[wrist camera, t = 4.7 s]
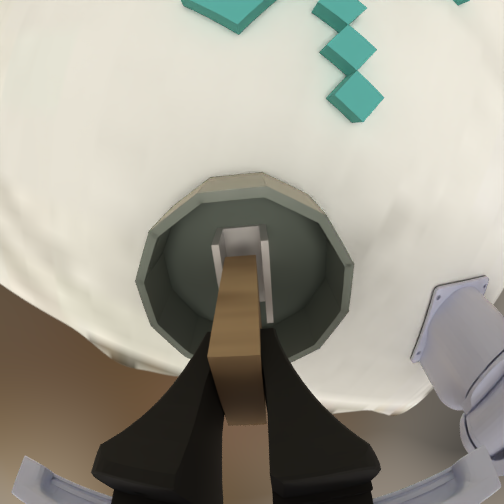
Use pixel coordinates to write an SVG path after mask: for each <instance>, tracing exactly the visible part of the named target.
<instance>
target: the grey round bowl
mask: <svg viewBox="0 0 504 504" xmlns="http://www.w3.org/2000/svg"><path fill="white" fill-rule="evenodd" d="M246 255H256V263H257V275H258V287H259V299H260V311H261V324H262V329H264V328H274V329H275V330H276V333H277V336H278V339H279V341H280V344H281V346H282V348H283V350H284V352H285V354H286V356H287V358H288V359H289V361H290V363H291V362H293V361H295V360H297V359H299V358H301V357H303V356H305V355H307V354H309V353H311V352H313V351H315V350H317V349H320V347H321V346H322V345H323V344H324V342H325V341H326V340H327V339H328V338H329V336H330V335H331V334H332V332H333V331H334V330H335V329H336V327H337V326H338V325H339V324H340V322H341V321H342V320H343V318H344V317H345V316H346V314H347V313H348V312H349V304H350V296H351V288H352V278H353V268H354V263H353V261H352V259H351V258H350V256H349V254H348V252H347V250H346V248H345V247H344V245H343V243H342V241H341V239H340V238H339V236H338V234H337V232H336V231H335V229H334V227H333V226H332V224H331V222H330V220H329V219H328V217H327V215H326V214H325V213H324V212H323V210H322V209H321V208H320V207H319V206H318V205H317V204H316V203H315V201H314V200H313V199H312V198H311V197H310V196H309V195H308V194H306V193H304V192H302V191H300V190H298V189H296V188H294V187H292V186H290V185H288V184H286V183H284V182H282V181H280V180H278V179H276V178H274V177H271V176H269V175H267V174H265V173H263V172H259V173H248V174H237V175H227V176H218V177H210V178H209V179H208V180H206V181H205V182H204V183H202V184H201V185H200V186H199V187H197V188H196V189H195V190H193V191H192V192H191V193H189V194H188V195H187V196H186V197H184V198H183V199H182V200H180V201H179V202H178V203H177V204H175V205H174V206H173V207H172V208H171V209H170V210H169V211H168V212H167V213H166V214H165V215H164V216H163V217H162V218H161V219H160V220H159V221H158V222H157V223H156V224H155V225H154V226H153V227H152V228H151V229H150V231H149V233H148V236H147V240H146V243H145V247H144V250H143V254H142V257H141V261H140V265H139V268H138V272H137V276H136V280H135V282H136V285H137V288H138V291H139V294H140V297H141V300H142V303H143V306H144V309H145V311H146V314H147V317H148V320H149V322H150V325H151V326H152V327H153V328H154V329H155V330H156V331H157V332H158V333H159V334H160V335H161V336H162V337H163V338H165V339H166V340H167V341H168V342H169V343H170V344H171V345H172V346H173V347H175V348H176V349H177V350H178V351H179V352H180V353H181V354H183V355H184V356H185V357H187V358H190V359H191V358H192V357H193V355H194V353H195V352H196V350H197V348H198V347H199V345H200V343H201V341H202V340H203V338H204V336H205V334H206V333H207V332H211V331H212V326H213V320H214V314H215V308H216V303H217V297H218V292H219V286H220V281H221V276H222V270H223V265H224V260H225V257H232V256H246Z"/></svg>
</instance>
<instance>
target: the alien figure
mask: <svg viewBox="0 0 504 504" xmlns="http://www.w3.org/2000/svg"><path fill="white" fill-rule="evenodd" d="M275 1H276V0H181V2H182V3H183V5H184V6H185V7H187V8H189V9H191V10H194V11H196V12H198V13H200V14H202V15H204V16H206V17H208V18H210V19H212V20H214V21H215V22H217V23H219V24H221V25H223V26H225V27H226V28H228V29H230V30H232V31H233V32H235V33H237V34H238V35H239V34H240V33H241V32H242V31H243V30H244V29H245V28H246V27H247V26H248V25H249V24H250V23H251V22H252V21H253V20H255V19H256V18H257V17H258V16H259V15H260V14H261V13H262V12H263V11H265V10H266V9H267V8H268V7H269V6H270V5H271V4H273V3H274V2H275ZM453 1H454V2H455V3H456V4H457V5H460V4H462V3H465V2H468V1H470V0H453ZM366 9H367V7H366V6H364V5H363V4H362V3H361V2H359V1H358V0H319V1H318V2H317V4H316V6H315V8H314V9H313V11H312V13H313V14H314V15H316V16H317V17H319V18H320V19H321V20H323V21H324V22H325V23H327V24H328V25H329V26H331V27H332V28H333V29H335V30H336V31H337V32H338V33H339V34H337V35H336V36H335V37H334V38H333V39H332V40H331V41H330V42H329V43H328V44H327V45H326V46H325V47H324V48H323V49H322V50H321V51H320V52H319V53H320V54H322V55H323V56H324V57H325V58H327V59H328V60H329V61H330V62H331V63H333V64H334V65H335V66H336V67H337V68H338V69H340V70H341V71H342V72H343V73H344V74H345V75H346V77H345V78H344V79H343V80H342V81H341V82H340V84H339V85H338V86H337V87H336V88H335V89H334V90H333V91H332V92H331V93H330V94H329V95H328V97H327V98H326V99H327V100H328V101H329V102H330V103H332V104H333V105H334V106H335V107H336V108H337V109H338V110H339V111H340V112H341V113H343V114H344V115H345V116H346V117H347V118H348V119H349V120H350V121H351V122H352V123H356V122H364V121H365V119H366V118H367V117H368V116H369V115H370V114H371V112H372V111H373V110H374V109H375V108H376V107H377V106H378V104H379V103H380V102H381V101H382V100H383V99H384V97H383V96H382V95H381V94H380V93H379V91H378V90H377V89H376V88H375V87H374V86H373V85H372V84H371V83H370V82H369V81H368V80H367V79H366V78H364V77H363V76H362V75H361V74H360V73H359V72H358V71H357V70H358V69H359V68H360V67H361V66H362V65H363V64H364V63H365V62H366V61H367V60H368V59H369V57H370V56H371V55H372V54H373V53H374V52H375V51H376V50H377V49H376V48H375V47H374V46H373V45H372V44H370V43H369V42H368V41H367V40H366V39H365V38H364V37H363V36H362V35H360V34H359V33H358V32H357V31H356V30H354V29H353V28H352V27H351V26H350V25H349V24H350V23H351V22H352V21H354V20H355V19H356V18H357V17H358V16H359V15H360V14H361V13H362V12H363V11H365V10H366Z"/></svg>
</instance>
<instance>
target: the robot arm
mask: <svg viewBox="0 0 504 504" xmlns="http://www.w3.org/2000/svg"><path fill="white" fill-rule="evenodd" d="M488 281H489V278H488V277H487V276H484V277H479V278H475V279H471V280H466V281H462V282H457V283H452V284H447V285H442V286H438V287H437V288H436V289H435V290H434V293H433V297H432V300H431V304H430V307H429V310H428V313H427V316H426V320H425V323H424V325H423V328H422V331H421V334H420V337H419V339H418V342H417V345H416V347H415V350H414V352H413V355H412V357H411V361H412V362H413V363H415V362H418V361H419V362H420V364H421V366H422V367H423V369H424V371H425V373H426V374H427V376H428V378H429V380H430V382H431V384H432V385H433V387H434V389H435V391H436V393H437V395H438V397H439V398H440V400H441V401H442V402H443V403H444V404H445V405H446V406H448V407H449V408H452V409H454V410H463V411H464V413H463V415H462V417H461V420H460V436H461V440H462V443H463V445H464V447H465V449H466V451H467V452H468V453H469V454H467V455H466V456H464V457H462V458H461V459H459V460H458V461H457V462H456V463H454V464H453V465H452V467H449V468H448V469H446V470H444V471H442V472H440V473H438V474H436V475H434V476H432V477H429V478H427V479H425V480H423V481H420V482H418V483H416V484H413V485H411V486H408V487H406V488H403V489H401V490H398V491H395V492H392V493H390V494H387V495H384V496H381V497H377V498H374V499H372V494H371V490H372V489H373V487H372V483H371V480H372V479H373V478H374V477H375V476H376V475H377V474H378V473H379V471H380V470H381V468H380V463H379V461H378V458H377V456H376V454H375V452H374V451H373V449H372V447H371V446H370V444H369V443H367V442H366V441H364V440H363V439H361V438H360V437H358V436H357V435H356V434H354V433H353V432H352V431H350V430H349V429H348V428H347V427H346V426H344V425H343V424H342V423H341V422H340V421H338V420H337V419H336V418H335V417H334V416H333V415H332V414H331V413H330V412H329V411H328V410H327V409H326V408H325V407H324V406H323V405H322V404H321V403H320V402H319V401H318V400H317V399H316V397H315V396H314V395H313V394H312V393H311V391H310V390H309V389H308V388H307V386H306V385H305V384H304V382H303V381H302V380H301V378H300V377H299V375H298V374H297V372H296V371H295V369H294V368H293V366H292V364H291V363H290V361H289V359H288V358H287V356H286V354H285V352H284V350H283V348H282V346H281V344H280V341H279V339H278V336H277V333H276V330H275V329H274V328H264V329H260V342H261V361H262V372H263V382H264V392H265V400H266V406H267V412H268V433H269V460H270V477H271V484H272V493H273V504H480V503H481V502H483V501H484V500H486V499H487V498H488V497H489V496H491V495H492V494H493V493H495V492H496V491H497V490H499V489H500V488H501V483H500V481H499V478H498V476H504V316H503V315H502V314H501V313H500V312H499V311H498V310H497V309H496V308H495V307H494V306H493V305H492V303H491V302H490V301H489V300H487V299H486V298H485V297H484V293H485V291H486V288H487V285H488ZM210 337H211V332H207V333H206V334H205V336H204V338H203V340H202V341H201V343H200V345H199V347H198V348H197V350H196V352H195V353H194V355H193V357H192V358H191V360H190V361H189V363H188V364H187V366H186V367H185V369H184V370H183V372H182V373H181V374H180V376H179V377H178V378H177V380H176V381H175V382H174V384H173V385H172V386H171V387H170V388H169V390H168V391H167V392H166V393H165V394H164V395H163V396H162V398H161V399H160V400H159V401H158V402H157V403H156V404H155V405H154V406H153V407H152V408H151V409H150V410H149V411H147V412H146V413H145V414H144V415H143V416H142V417H141V418H139V419H138V420H137V421H135V422H134V423H133V424H132V425H131V426H129V427H128V428H126V429H125V430H124V431H122V432H121V433H119V434H118V435H116V436H114V437H113V438H111V439H109V440H108V441H106V442H104V443H103V444H101V445H100V447H99V450H98V452H97V455H96V458H95V461H94V465H93V468H92V472H91V473H92V474H93V476H94V477H95V478H97V479H98V480H99V481H101V482H103V483H104V484H106V485H107V486H109V487H111V488H113V489H114V492H113V497H111V496H108V495H105V494H102V493H99V492H96V491H94V490H91V489H88V488H86V487H83V486H81V485H78V484H76V483H73V482H71V481H69V480H67V479H65V478H63V477H60V476H58V475H56V474H54V473H53V472H52V471H50V470H49V469H47V468H46V467H44V466H43V465H41V464H40V463H38V462H36V461H34V460H33V459H31V458H29V457H27V456H24V459H23V461H22V464H21V467H20V469H19V472H18V474H17V477H16V480H15V483H14V486H13V489H12V494H13V495H15V496H16V497H17V498H19V499H20V500H21V501H23V502H24V503H26V504H223V491H222V431H223V421H224V415H225V414H224V411H223V408H222V405H221V402H220V398H219V395H218V392H217V389H216V385H215V382H214V379H213V375H212V372H211V368H210V365H209V361H208V358H207V355H208V349H209V343H210Z"/></svg>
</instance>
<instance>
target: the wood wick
mask: <svg viewBox="0 0 504 504" xmlns="http://www.w3.org/2000/svg"><path fill="white" fill-rule="evenodd" d="M260 329H262V324H261V311H260V299H259V287H258V275H257V263H256V255H246V256H232V257H225V260H224V265H223V270H222V276H221V281H220V286H219V292H218V297H217V303H216V308H215V314H214V320H213V326H212V331H211V337H210V343H209V349H208V355H207V358H208V361H209V365H210V368H211V372H212V375H213V379H214V382H215V385H216V389H217V392H218V395H219V398H220V402H221V405H222V408H223V411H224V414H225V417H226V420H227V423H228V425H261V424H266V423H267V421H266V401H265V392H264V382H263V372H262V361H261V342H260Z"/></svg>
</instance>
